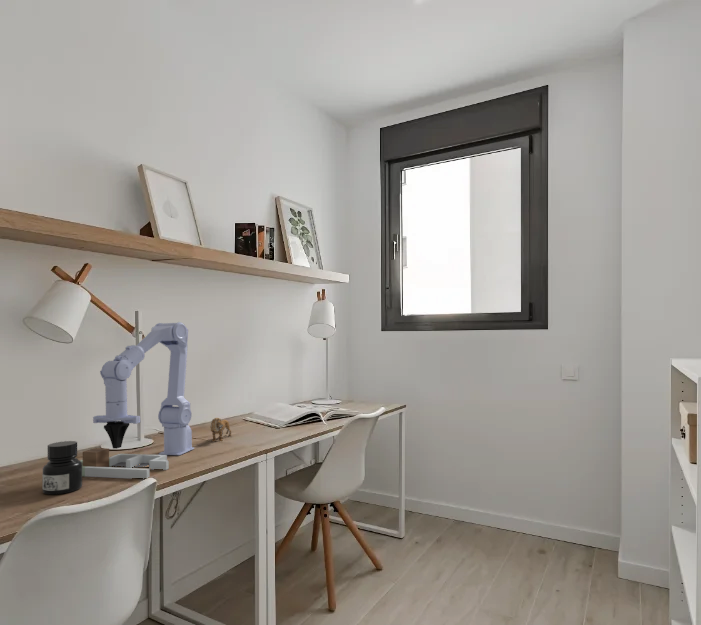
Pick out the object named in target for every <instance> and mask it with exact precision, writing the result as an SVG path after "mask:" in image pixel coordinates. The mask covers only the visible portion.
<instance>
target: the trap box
mask: <svg viewBox="0 0 701 625" xmlns="http://www.w3.org/2000/svg"><path fill="white" fill-rule="evenodd" d="M80 461H81V462H82V477H86V478H87V477H89V478H91V477H92V478H112V479H113V478H114V479H132V478H143V479H142V480H145V479H144V478H148V477H150V470H154V469H163V470H162V471H167V470H169V468H170V467H169V465H170V464H169V462H170V461H169V460H168V455H159V454H150V453H149V454H145V453H137V454H136V453H118V454H115V455H112V456H109V467H89V466H83V459H80ZM139 464H140V465H139ZM136 465H137V466H136ZM147 465H149V468H138V467H143V466H144V467H145V466H147ZM112 466H113V467H112ZM114 466H115V467H114ZM117 466H121V467H117ZM123 466H124V467H123ZM134 466H135V467H134ZM132 467H133V468H132ZM150 468H151V469H150ZM148 479H149V478H148Z"/></svg>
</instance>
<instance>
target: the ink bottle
mask: <svg viewBox="0 0 701 625" xmlns="http://www.w3.org/2000/svg"><path fill="white" fill-rule="evenodd" d="M77 456H78V441H76V440H74V441H73V440H68V441H67V440H65V441H58V442H57V441H56V442H53V443H50V444H47V462H46V464H45V465H44V466H43V467H42V473H41V474H42V475H41V476H42V481H41V482H42V486H41V487H42V493H43V494H45V495H62V494H68V493H71V492H74V491H77V490H80V489H81V488H82V487H83V476H82V462H81V461H80V460H81V459H80V460H79V459H78V458H76V457H77Z"/></svg>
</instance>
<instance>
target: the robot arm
mask: <svg viewBox="0 0 701 625" xmlns="http://www.w3.org/2000/svg"><path fill="white" fill-rule="evenodd" d="M188 338H189V329H188V328H187V326H186V325H185V324H184V323H183V322H180V321H178V322H158V323H156V324H155V325H154V326H152V327H151V330H150V332H149V333H147V335H145V337H144V338H142V339H141V340H140V341H139V342H138V343H137V344H136V345H135V344H132V345H127V346H126V347H125V349H124V350H123V351H122V352H121V353H120V354H118V355H115V356H114V359H113V360H107V361H106V362H105V363H104V364H103V365H102V367H101V370H100V371H99V373H100V377H101V378H102V379H103V384H104V386H105V414H103V415H94V416H92V418H93V419H92V421H93V424H98V423H99V424H102V423H103V424H104V423H105V424H104V425H103V429H104V430H105V432H106V433H107V436H108V438H109V440H110V442H111V446H112V449H119V448H122V446H123V445H122V444H123V440H124V438H125V435H126V432H127V430H128V428H129V426H130V424H133V425H135V424H136V425H137V424H140V423H141V415H132V414H128V393H127V392H128V389H127V388H128V385H127V383H128V381H127V379H129V378H130V377H131V375H132V371H133V370H134V368H135V367H137V366H138V365H139V364H140V363H141V362H142V361H143V360H144V359H145V354H146V353H147V352H148V351H150V350H152V348H154V347H155V346H156V345H158V344H161V345H163V346H164V347H166V348H167V349H168V350H169V351H170V355H169V356H170V357H169V369H168V370H169V372H168V381H167V382H168V384H167V396H166V398H165V399H164V400H162V401H161V403H160V409H159V411H158V421H159V423H160V424H161V427H163V451H161V452H158V455H167V456H181V455H183V454H185V453H187V452H189V451H192V450H194V449H195V447H193V440H192V439H193V437H192V436H193V430H192V428H191V426H190V425H189V423H190V422H191V421H192V420H191V419H192V417H193V416H192V410H191V402H190V401H189V400H188V399H186V398H185V389H186V375H187V362H188V360H187V359H188V340H189V339H188Z"/></svg>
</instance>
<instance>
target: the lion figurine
mask: <svg viewBox="0 0 701 625" xmlns="http://www.w3.org/2000/svg"><path fill="white" fill-rule="evenodd" d="M225 429H226V432H225V433H226V434H225V435H227V436H228V437H232V430H231V428H230V422H229V421H228V420H226V419H221V418H220V417H214V418H213V419H212V420H211V422H210V432H211V434H212V440H211V442H216V435H218V441H219V442H223V435H224V430H225Z"/></svg>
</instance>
